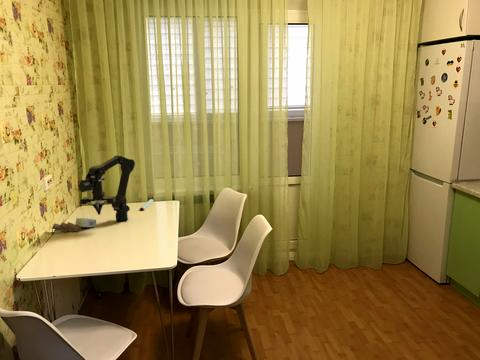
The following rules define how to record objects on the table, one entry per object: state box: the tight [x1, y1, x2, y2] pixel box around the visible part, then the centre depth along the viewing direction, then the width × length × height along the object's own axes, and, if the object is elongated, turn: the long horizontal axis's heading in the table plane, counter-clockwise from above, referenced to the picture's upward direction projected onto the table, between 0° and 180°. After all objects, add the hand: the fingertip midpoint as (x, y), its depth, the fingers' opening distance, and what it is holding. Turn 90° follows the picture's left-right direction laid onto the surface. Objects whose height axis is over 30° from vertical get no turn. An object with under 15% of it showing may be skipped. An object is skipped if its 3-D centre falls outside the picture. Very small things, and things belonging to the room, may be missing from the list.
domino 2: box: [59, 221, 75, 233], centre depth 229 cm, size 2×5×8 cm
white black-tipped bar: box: [139, 198, 155, 211], centre depth 279 cm, size 23×7×3 cm, turn 176°
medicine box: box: [75, 217, 97, 228], centre depth 235 cm, size 8×4×9 cm
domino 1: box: [66, 221, 82, 233], centre depth 229 cm, size 2×5×8 cm
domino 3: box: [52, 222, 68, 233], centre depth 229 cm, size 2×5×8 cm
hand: (99, 214), depth 231 cm, fingers closed
